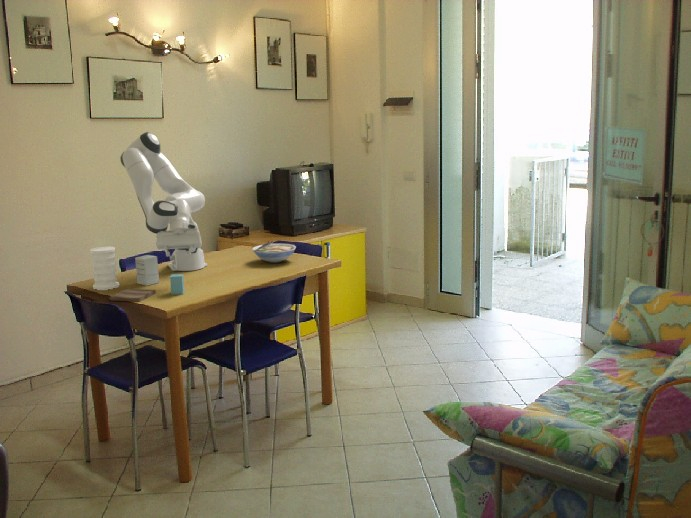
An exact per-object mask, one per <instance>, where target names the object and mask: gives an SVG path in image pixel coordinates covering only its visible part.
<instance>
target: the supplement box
mask: <svg viewBox="0 0 691 518" xmlns="http://www.w3.org/2000/svg"><path fill="white" fill-rule="evenodd" d="M134 259H135V261H134V262H135V269H136V270H135V272H136V283H137V284H138V285H141V284H142V286H151V285H154V284H155V285H156V284H158V283H160V277H159V263H158V256H156V255H151V254H145V255H142V256H137V257H134Z"/></svg>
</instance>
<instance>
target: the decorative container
mask: <svg viewBox="0 0 691 518" xmlns="http://www.w3.org/2000/svg"><path fill="white" fill-rule="evenodd" d="M115 251H116V247H115V246H109V245H108V246H97V247H92V248H90V249H89V252H90V254H91V261H92V265H91V267H92V273H93V281H94V284H93V285H92V289H93V290H95V289H97V290H96V291H108V289H110V290H114V289H113V288H115V289H117V288H119V287H120V282H119V281H117V279H118V276H117V268H116V260H115V259H116V254H115Z"/></svg>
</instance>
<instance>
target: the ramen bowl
mask: <svg viewBox="0 0 691 518" xmlns="http://www.w3.org/2000/svg"><path fill="white" fill-rule="evenodd" d="M296 248H297V246H296V245H295V244H290V243H273V241H270V240H268V241H266V242H265V243H264V244H261V245H256V246H254V247H252V251H253V253H254V254H255V255H256V256H257V258H259V259H260V260H262V261H266V262H267V263H270V264H271V263H275V264H276V263H281V262H282V261H284V260H287V259H289V258H291V256H292V255H293V254H294V252H295V250H296Z"/></svg>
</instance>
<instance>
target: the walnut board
mask: <svg viewBox="0 0 691 518" xmlns="http://www.w3.org/2000/svg"><path fill="white" fill-rule="evenodd" d="M156 293H157V291H156V289H147V288H146V289H145V288H125V289H123V290H121V291H119V292H116V293H115V294H112V295H111V296H109V301H115V302H116V301H117V302H118V301H119V302H137V301H138V302H142V301H144V300H145V299H147V298H149V297H151V296H153V295H154V294H156Z"/></svg>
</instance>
